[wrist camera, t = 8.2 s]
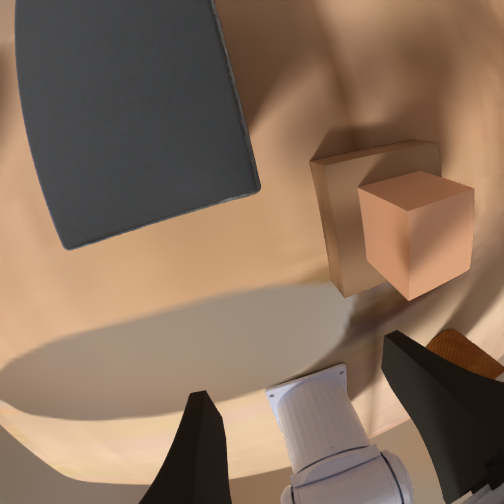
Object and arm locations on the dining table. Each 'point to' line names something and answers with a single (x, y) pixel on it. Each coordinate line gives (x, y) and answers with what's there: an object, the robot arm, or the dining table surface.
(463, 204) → the terracotta cube
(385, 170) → the walnut block
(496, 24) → the dining table surface
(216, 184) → the small box
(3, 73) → the dining table surface
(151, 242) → the dining table surface
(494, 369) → the disposable coffee cup
